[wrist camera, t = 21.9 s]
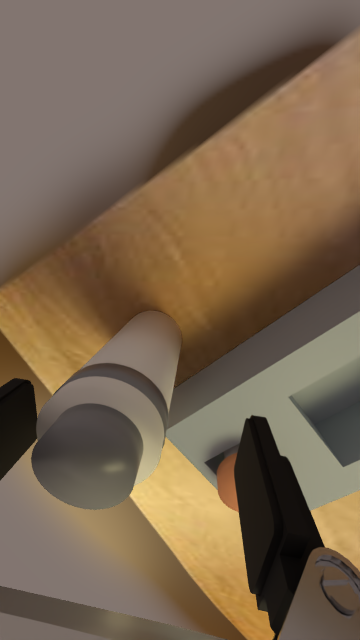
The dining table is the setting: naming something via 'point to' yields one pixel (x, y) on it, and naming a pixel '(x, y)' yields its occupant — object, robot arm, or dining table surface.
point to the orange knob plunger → (228, 478)
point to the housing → (285, 395)
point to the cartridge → (110, 416)
